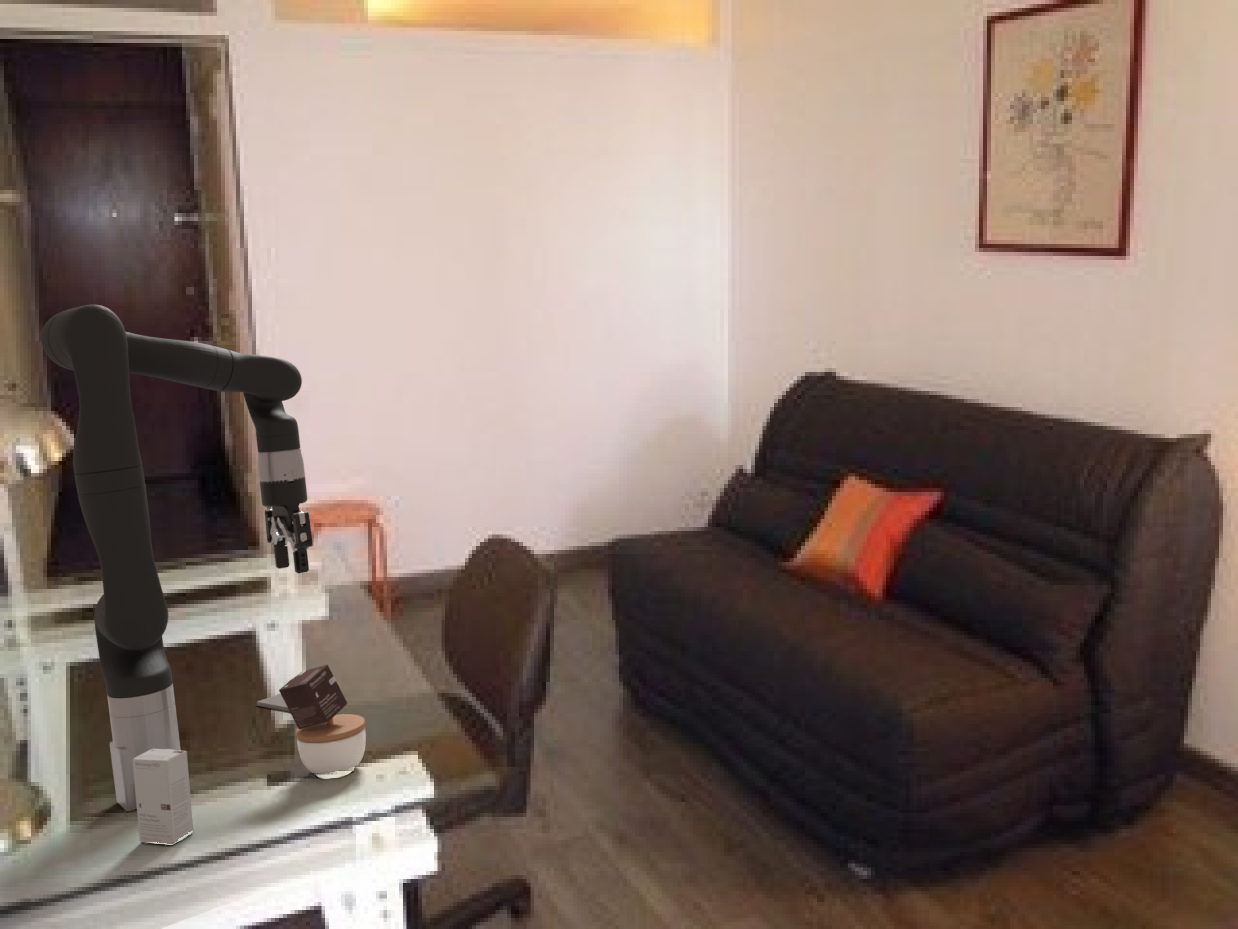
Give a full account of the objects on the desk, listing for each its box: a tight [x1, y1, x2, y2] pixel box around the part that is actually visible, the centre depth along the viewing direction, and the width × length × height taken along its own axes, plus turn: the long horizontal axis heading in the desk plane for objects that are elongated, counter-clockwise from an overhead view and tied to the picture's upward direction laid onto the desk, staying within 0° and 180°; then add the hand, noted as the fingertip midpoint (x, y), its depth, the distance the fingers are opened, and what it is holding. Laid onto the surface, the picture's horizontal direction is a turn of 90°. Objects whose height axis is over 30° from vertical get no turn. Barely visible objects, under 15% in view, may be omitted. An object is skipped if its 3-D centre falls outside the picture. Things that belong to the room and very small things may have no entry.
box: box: [278, 664, 348, 729], centre depth 167 cm, size 6×6×7 cm
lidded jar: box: [294, 713, 367, 774], centre depth 168 cm, size 11×11×9 cm
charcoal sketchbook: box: [256, 693, 290, 713], centre depth 209 cm, size 10×14×1 cm
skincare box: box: [132, 749, 194, 844], centre depth 147 cm, size 6×4×12 cm
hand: (292, 570), depth 183 cm, fingers open, 8 cm apart
